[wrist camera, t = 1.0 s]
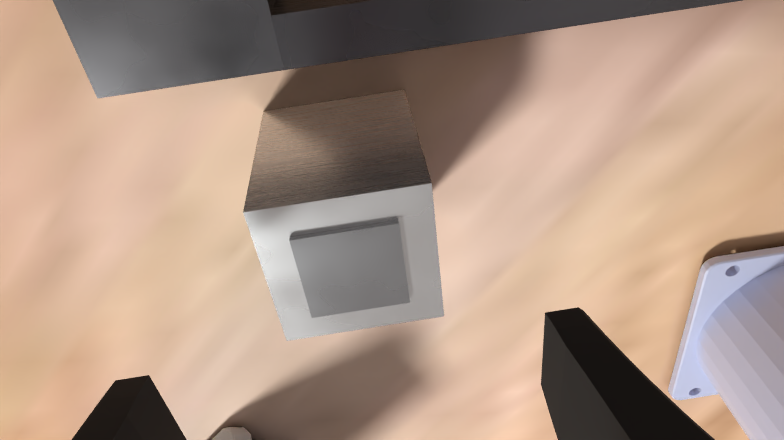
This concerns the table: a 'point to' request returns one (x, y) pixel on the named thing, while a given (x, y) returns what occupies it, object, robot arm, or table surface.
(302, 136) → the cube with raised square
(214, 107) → the table surface
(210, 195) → the table surface
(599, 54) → the table surface
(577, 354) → the robot arm
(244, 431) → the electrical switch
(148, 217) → the table surface
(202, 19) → the dark grey flat block
